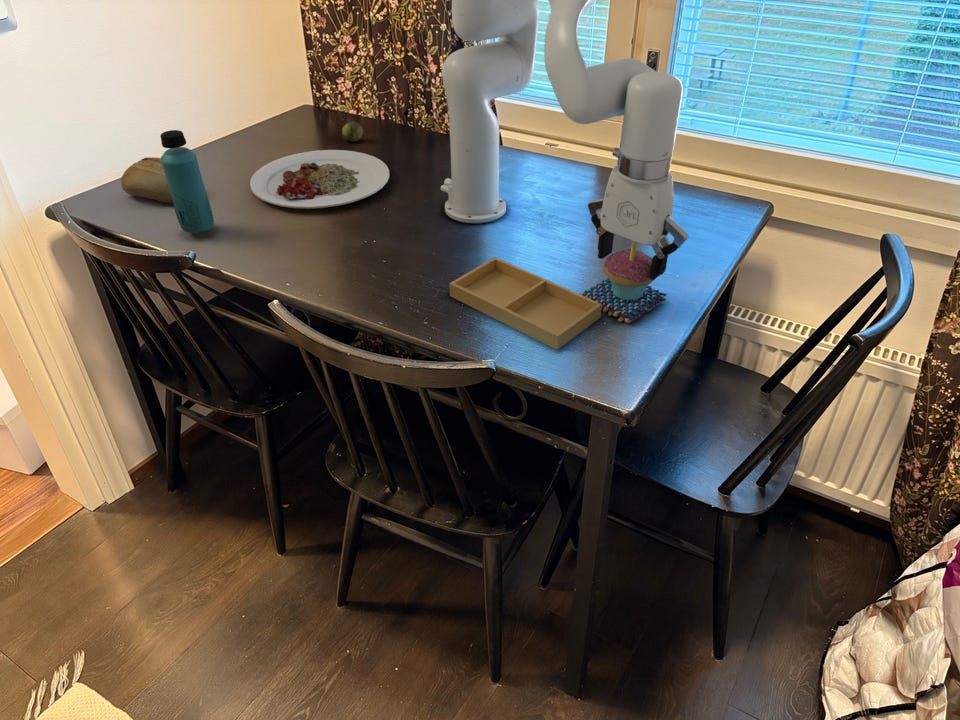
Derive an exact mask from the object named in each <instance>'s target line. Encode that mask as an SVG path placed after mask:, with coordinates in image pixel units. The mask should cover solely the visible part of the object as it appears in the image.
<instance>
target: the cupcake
mask: <svg viewBox="0 0 960 720" xmlns="http://www.w3.org/2000/svg"><path fill="white" fill-rule="evenodd" d="M636 248H637V242H634V241H632V240H631V246H630V248H628V249H622V250H619V251H617V252H615V253H611V255H609V256H608V257H607V258H606V260H605V261H604V264H603V272H604V274H605V276H606V277H607V279H608V278H609V279H610V280H611V283H612V287H613V292H614V294H615V295H616V296H617V297H619V298H621V299H624V300H635V299H638V298H640V297H641V296H642V294H643V292H644V291H645V289H646V287H647V286H650V284H652V283H653V282H654V281H655V280H656V279H654V280H652V279H650V278H649V276H650V269H651V263H652V258H653V257H651V256H650V255H648V254H647V253H644V252H642V251H640V250H637V249H636ZM609 279H608V280H609Z"/></svg>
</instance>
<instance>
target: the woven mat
mask: <svg viewBox="0 0 960 720" xmlns="http://www.w3.org/2000/svg"><path fill="white" fill-rule="evenodd" d="M581 295H582V296H585V297H587V298H589V299H591V300H594V301H596V302H598V303H601V304H602V309H601V310H602V312H603V313H607V312H608V313H607V315H608V316H610V317H611V316H613V317H616V318H617V317H619V318H617V322H619V323H620V322H621V323H622V322H623V321H624V322H625V323H626V324H630V323H631V322H633V321H636V320H637V319H639V318H640V317H641V316H642V315H644V314H645V313H648V312H649V311H651V310H652V309H654V308H655V307H657V306H658V305H660V304H661V303H663V302H665V301H666V300H667V299H666V296H667V293H666V292H661V291H660V289H656V288H652V285H648V286H647V287H646V289H645V291H644V292H643V294H642V296H641V297H640V298H638V299H635V300H624V299H621V298H619V297H617V296H616V295H615V294H614V292H613V287H612V283H611V280H610V279H609V278H608V277H607V279H605V280H602V281H601V282H600V283H597V284H595V286H592V287H590V289H587V290H584V292H583V293H582V294H581Z"/></svg>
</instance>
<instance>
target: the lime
mask: <svg viewBox="0 0 960 720" xmlns="http://www.w3.org/2000/svg"><path fill="white" fill-rule="evenodd" d="M363 133H364V129H363V127H362V125H361V124H360V123H358V122H355V121H349V122H347V123H345V125H344V126H343V127H342V130H341V134H342V137H343V138H344V139H345V140H346V141H348V142H350V143H355V142H358V141H359V140H361V139H362V137H363Z"/></svg>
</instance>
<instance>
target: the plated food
mask: <svg viewBox="0 0 960 720" xmlns="http://www.w3.org/2000/svg"><path fill="white" fill-rule="evenodd" d="M389 179H390V169H389V167H388V165H387V164H386V163H385V162H384V161H382V160H381V159H379V158H377V157H376V156H373V155H371V154H367V153H364V152H359V151H354V150H346V149H345V150H344V149H321V150H320V149H318V150H310V151H303V152H298V153H293V154H291V155H287V156H283V157H280V158H277V159H275V160H271V161H270V162H269V163H266V164H264V165H262V166H261V167H260V168H259V169H257V170H256V171H255V172H254V173H253V175H252V176H251V178H250V181H249V185H250V191H251V192H252V194H253V195H254V196H256V197H257V198H258V199H260V200H261V201H263V202H266V203H268V204H270V205H275V206H279V207H284V208H292V209H324V208H325V209H326V208H331V207H338V206H343V205H347V204H351V203H354V202H358V201H361V200H364V199H365V198H368V197H370V196H372V195H374V194H376V193H377V192H379V191H380V190H382V189H383V187H384V186H385V185H386V184H387V183H388V182H389Z"/></svg>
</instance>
